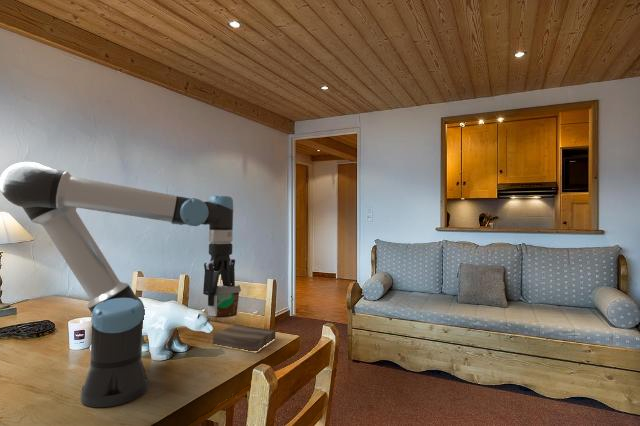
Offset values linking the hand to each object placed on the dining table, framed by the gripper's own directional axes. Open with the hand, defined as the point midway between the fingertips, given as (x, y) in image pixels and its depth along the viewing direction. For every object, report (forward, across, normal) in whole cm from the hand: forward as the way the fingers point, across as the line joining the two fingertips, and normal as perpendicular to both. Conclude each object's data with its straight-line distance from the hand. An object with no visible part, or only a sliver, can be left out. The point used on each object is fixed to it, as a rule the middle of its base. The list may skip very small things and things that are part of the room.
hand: (219, 312), depth 118 cm
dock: (+15, +16, +1) cm, 22 cm away
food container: (+1, 0, 0) cm, 1 cm away
